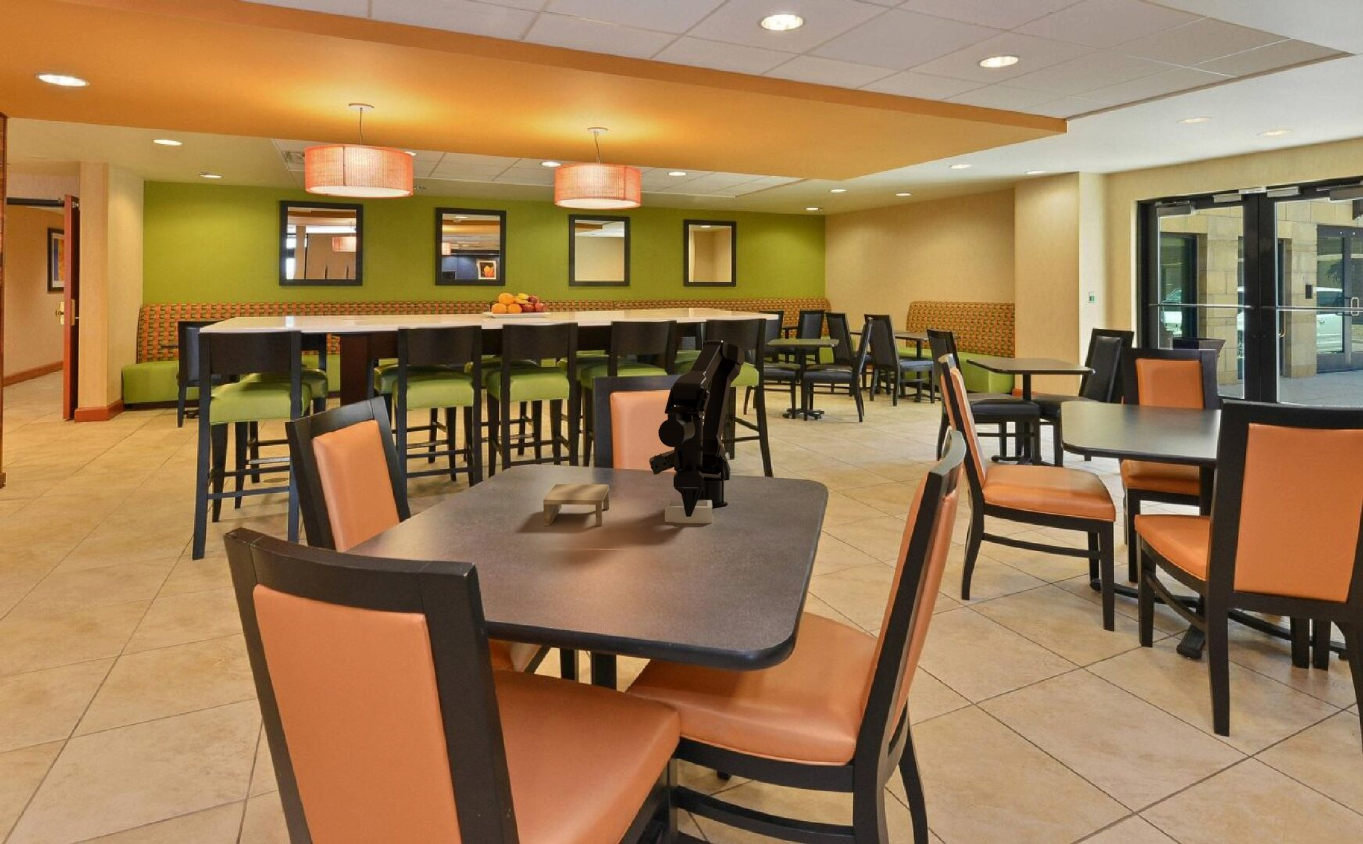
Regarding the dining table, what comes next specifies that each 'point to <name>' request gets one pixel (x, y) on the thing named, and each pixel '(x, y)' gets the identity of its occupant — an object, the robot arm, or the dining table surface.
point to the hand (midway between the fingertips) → (688, 511)
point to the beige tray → (677, 514)
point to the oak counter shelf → (575, 499)
